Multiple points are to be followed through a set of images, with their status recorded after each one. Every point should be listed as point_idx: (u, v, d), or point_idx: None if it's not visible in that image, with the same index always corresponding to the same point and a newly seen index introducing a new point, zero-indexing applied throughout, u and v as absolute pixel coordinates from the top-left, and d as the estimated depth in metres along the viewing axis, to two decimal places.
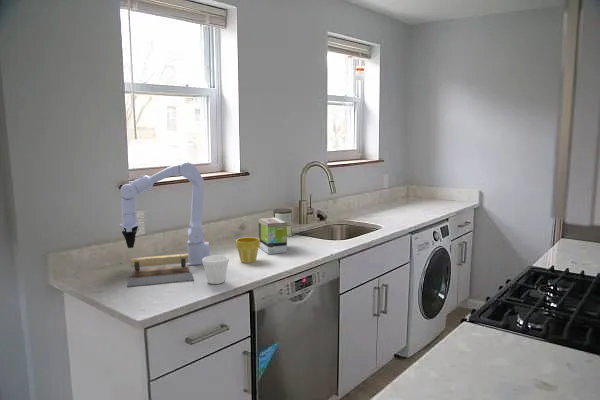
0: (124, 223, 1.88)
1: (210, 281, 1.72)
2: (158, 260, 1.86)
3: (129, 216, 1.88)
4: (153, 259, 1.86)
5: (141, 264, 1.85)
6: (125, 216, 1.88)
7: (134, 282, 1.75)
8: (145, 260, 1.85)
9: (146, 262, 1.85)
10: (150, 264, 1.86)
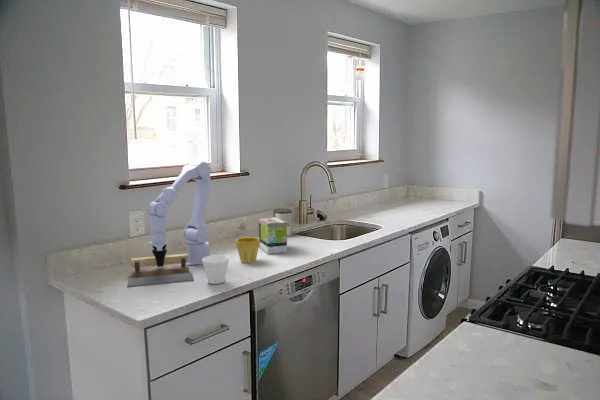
0: (153, 242, 1.84)
1: (210, 281, 1.72)
2: None
3: (159, 234, 1.84)
4: (153, 259, 1.86)
5: (141, 264, 1.85)
6: (155, 234, 1.84)
7: (134, 282, 1.75)
8: (145, 260, 1.85)
9: (146, 262, 1.85)
10: (150, 264, 1.86)
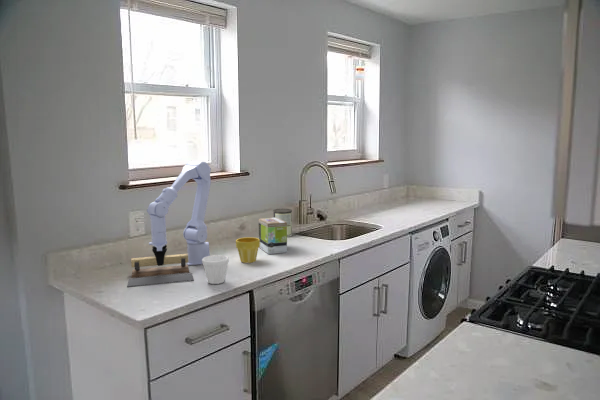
0: (153, 242, 1.84)
1: (210, 281, 1.72)
2: None
3: (159, 234, 1.84)
4: (153, 259, 1.86)
5: (141, 264, 1.85)
6: (155, 234, 1.84)
7: (134, 282, 1.75)
8: (145, 260, 1.85)
9: (146, 262, 1.85)
10: (150, 264, 1.86)
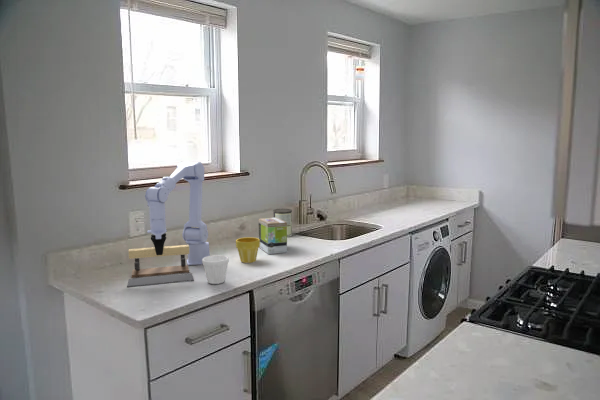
0: (152, 230, 1.73)
1: (210, 281, 1.72)
2: None
3: (158, 222, 1.72)
4: (152, 250, 1.74)
5: (139, 255, 1.73)
6: (154, 222, 1.72)
7: (134, 282, 1.75)
8: (143, 251, 1.74)
9: (144, 254, 1.74)
10: (149, 255, 1.74)
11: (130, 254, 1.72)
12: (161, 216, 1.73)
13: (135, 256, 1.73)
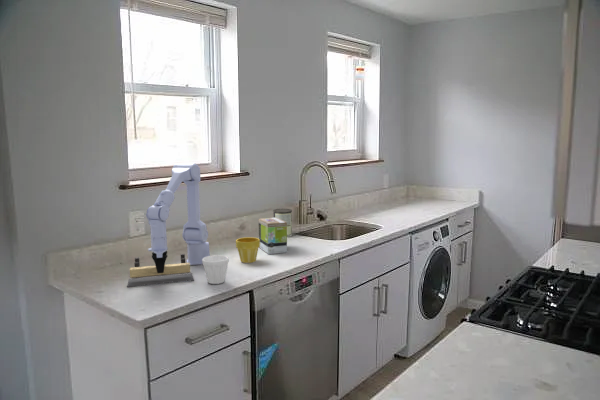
0: (153, 248, 1.74)
1: (210, 281, 1.72)
2: None
3: (159, 240, 1.73)
4: (153, 269, 1.75)
5: (140, 273, 1.74)
6: (155, 240, 1.73)
7: (134, 282, 1.75)
8: (144, 270, 1.74)
9: (145, 272, 1.74)
10: (150, 274, 1.75)
11: (131, 273, 1.73)
12: (162, 234, 1.73)
13: (136, 275, 1.74)
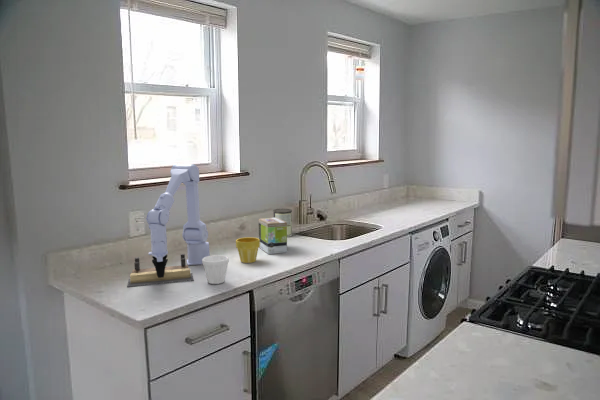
0: (153, 252, 1.74)
1: (210, 281, 1.72)
2: None
3: (159, 244, 1.73)
4: (153, 274, 1.75)
5: (141, 279, 1.74)
6: (155, 244, 1.73)
7: None
8: (145, 275, 1.75)
9: (146, 278, 1.75)
10: (150, 280, 1.75)
11: (132, 279, 1.73)
12: (162, 238, 1.74)
13: (137, 281, 1.74)
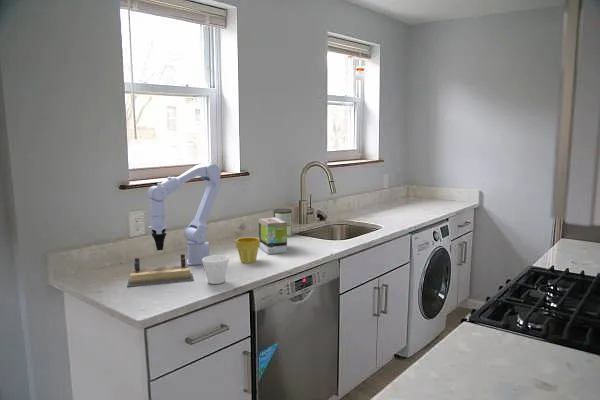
0: (153, 225, 1.87)
1: (210, 281, 1.72)
2: (159, 275, 1.76)
3: (158, 218, 1.86)
4: (153, 274, 1.75)
5: (141, 279, 1.74)
6: (154, 218, 1.86)
7: None
8: (145, 275, 1.75)
9: (146, 278, 1.75)
10: (150, 280, 1.75)
11: (132, 279, 1.73)
12: (157, 213, 1.86)
13: (137, 281, 1.74)
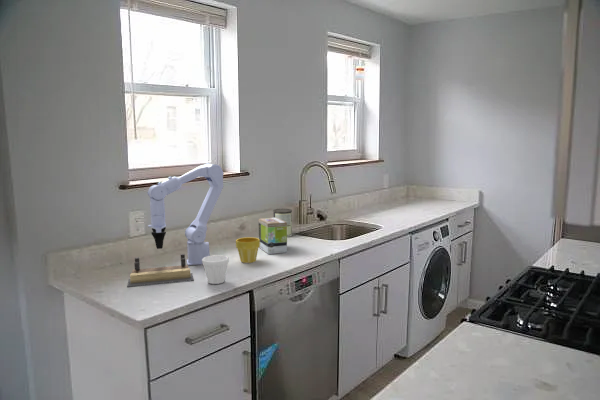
0: (153, 224, 1.89)
1: (210, 281, 1.72)
2: (159, 275, 1.76)
3: (158, 217, 1.88)
4: (153, 274, 1.75)
5: (141, 279, 1.74)
6: (154, 217, 1.88)
7: None
8: (145, 275, 1.75)
9: (146, 278, 1.75)
10: (150, 280, 1.75)
11: (132, 279, 1.73)
12: (156, 212, 1.88)
13: (137, 281, 1.74)
